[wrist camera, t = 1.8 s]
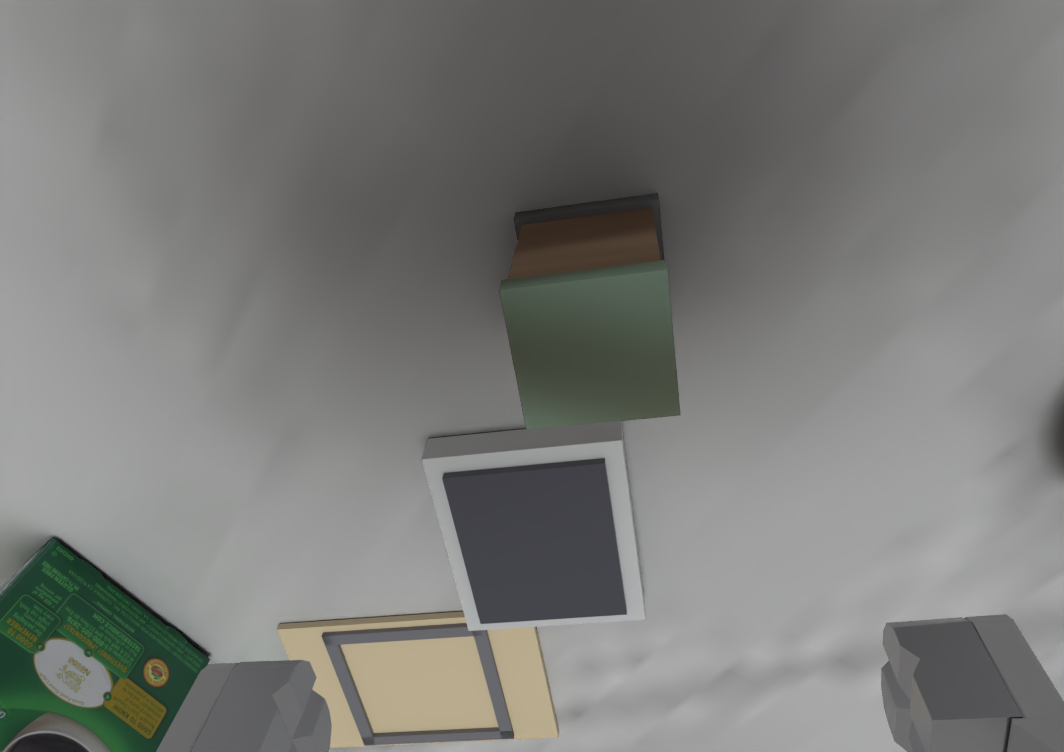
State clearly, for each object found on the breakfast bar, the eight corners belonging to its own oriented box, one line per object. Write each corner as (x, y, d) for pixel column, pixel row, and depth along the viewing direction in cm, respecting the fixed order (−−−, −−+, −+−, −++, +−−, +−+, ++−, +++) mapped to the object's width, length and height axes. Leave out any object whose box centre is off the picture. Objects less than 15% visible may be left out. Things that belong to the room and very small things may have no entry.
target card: (279, 624, 32) (274, 633, 32) (531, 606, 31) (530, 616, 30) (329, 741, 35) (325, 751, 35) (559, 731, 34) (558, 741, 33)
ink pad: (428, 438, 27) (419, 464, 26) (621, 419, 26) (622, 445, 25) (473, 606, 31) (467, 637, 30) (643, 595, 30) (645, 625, 29)
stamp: (515, 212, 23) (494, 286, 19) (657, 193, 23) (672, 265, 18) (537, 337, 25) (523, 434, 20) (668, 322, 25) (684, 418, 20)
